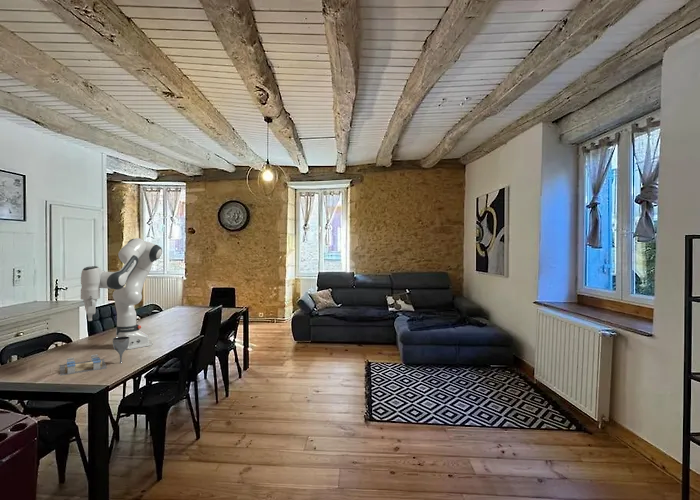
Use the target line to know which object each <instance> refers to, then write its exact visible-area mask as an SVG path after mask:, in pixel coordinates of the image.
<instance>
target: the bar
mask: <svg viewBox="0 0 700 500" xmlns="http://www.w3.org/2000/svg"><path fill="white" fill-rule="evenodd" d="M101 367H102V360H101V362H100V368H101ZM88 369H93V362H87V363H80V364H75V371H81V370H88ZM65 373H68V367H67V365H66V366H65Z"/></svg>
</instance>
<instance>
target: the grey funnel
mask: <svg viewBox="0 0 700 500" xmlns="http://www.w3.org/2000/svg"><path fill="white" fill-rule="evenodd" d="M128 345H129V337H126V336H124V337H116V336H115V337H113V338H112V346H113V350H115V351H116V353H118V354H119V364H123V362H122V361H123V355H124V353H125V352H126V350H128V349H127V348H128Z"/></svg>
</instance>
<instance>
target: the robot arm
mask: <svg viewBox="0 0 700 500" xmlns="http://www.w3.org/2000/svg"><path fill="white" fill-rule="evenodd" d="M162 253H163V249H162V247H161V246H160V245H157V244H155V243H152V242H151V241H146V240H144V239H143V238H139V237H136V238H132V239H130V240H128V241H127V242H126V244H125V245H124V246H122V247H121V248H120V250H119V251H118V253H117V255H118V260H120V262H121V263H122V264H123V266H122V267H121V268H120V270H117V271H105V270H102V269H101V268H100V267H99V266H97V265H95V266H93V265H92V266H86V267H84V268H83V269H82V270H81V273H80V274H81V275H80V284H81V288H80V300H82V301H83V303H84V309H85V312H86V315H87V321H88V322H92V321H93V315H95V314H96V303H97V302H98V300H99V299H101V289H107V290H109V289H110V290H113V292H112V299H113V301H114V304H115V310H116V327H115V335H116V336H115V338H116V337H124V336H126V337H129V345H128V348H127V349H126V350H133V349H139V348H144V347H148V346H149V347H150V346H153V345H154V344H153V343H154V342H153V341H152V340H150V337H149V335H148V334H147V333H146V332H143V330H141V329H142V325H139V324H137V311H136V308H135V305H138V304H139V303H140V302H141V301H142V299H143V294H142V291H143V289H144V284H145V281H146V280H147V277H148V275H149V274H150V272H151V270H152V266H153V263H154V262H155V261H157V260H159V259H160V258H161V256H162Z"/></svg>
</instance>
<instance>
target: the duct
mask: <svg viewBox="0 0 700 500" xmlns="http://www.w3.org/2000/svg"><path fill="white" fill-rule="evenodd" d="M101 360H102V367H101V368H100V362H101ZM87 362H93V369H88V370H81V371H75V364H80V363H87ZM66 365H67V367H68V373H65V366H66ZM105 369H108V367H107V364H106V362H105V359H104V358H100V357H99V355H98V353H97V354H96V353H95V354H91V356H90V360H85V361H78V362H76V361H75V358H74V357H68V358H66V364H60V365H59V376H62V377H63V376H68V375H72V374H73V375H74V374H79V373H80V374H81V373H85V372H86V373H87V372H93V371H99V370H105Z"/></svg>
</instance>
